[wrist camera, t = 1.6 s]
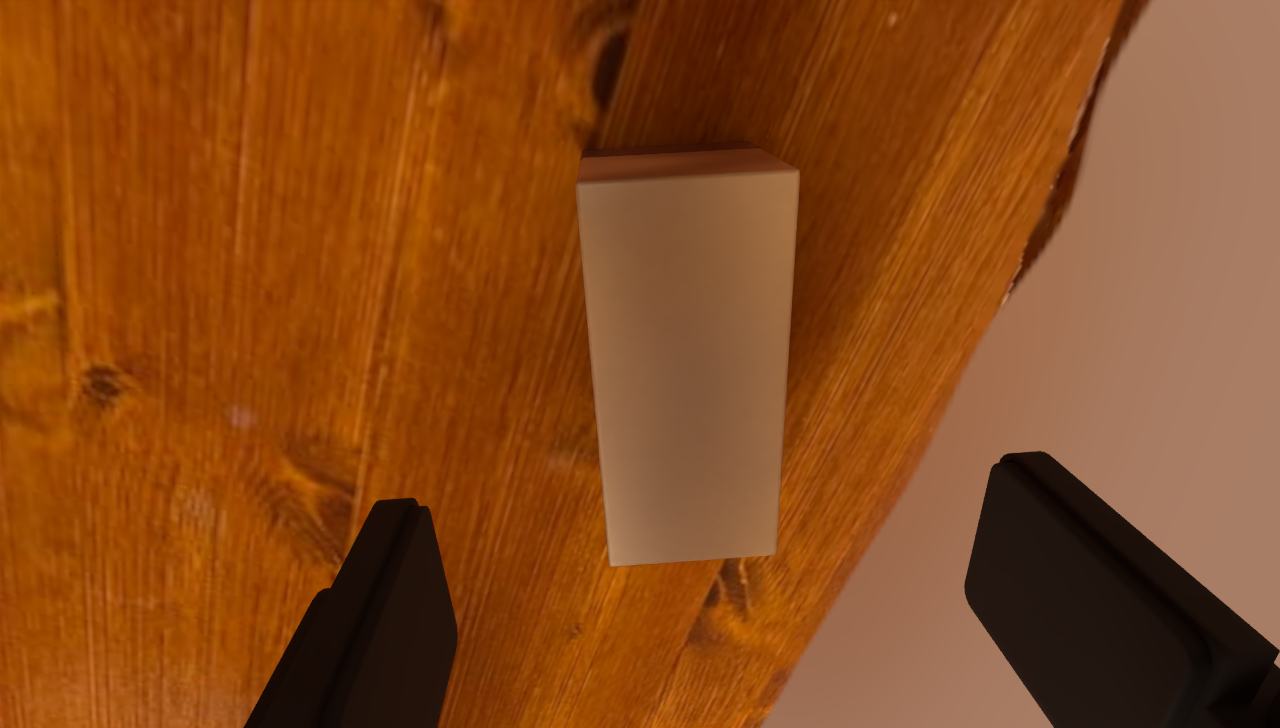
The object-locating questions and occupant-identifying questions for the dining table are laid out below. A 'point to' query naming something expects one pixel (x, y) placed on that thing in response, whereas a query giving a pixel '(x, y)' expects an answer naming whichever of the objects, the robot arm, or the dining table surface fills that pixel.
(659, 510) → the eraser
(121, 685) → the dining table surface
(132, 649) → the dining table surface
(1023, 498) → the robot arm
